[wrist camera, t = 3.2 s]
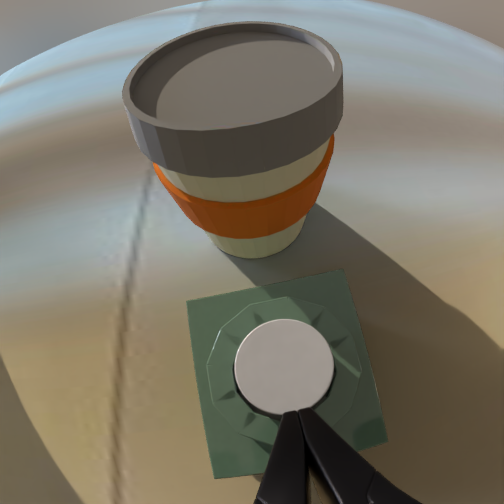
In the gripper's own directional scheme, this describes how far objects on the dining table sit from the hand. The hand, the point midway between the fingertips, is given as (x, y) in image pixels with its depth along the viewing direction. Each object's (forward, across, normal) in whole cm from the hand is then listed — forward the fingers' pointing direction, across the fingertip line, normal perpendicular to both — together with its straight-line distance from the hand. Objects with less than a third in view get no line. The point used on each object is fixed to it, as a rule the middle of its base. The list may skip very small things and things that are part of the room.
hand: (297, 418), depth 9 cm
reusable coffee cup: (+21, 0, -2) cm, 21 cm away
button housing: (+11, 0, +8) cm, 14 cm away
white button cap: (+5, 0, +2) cm, 5 cm away
